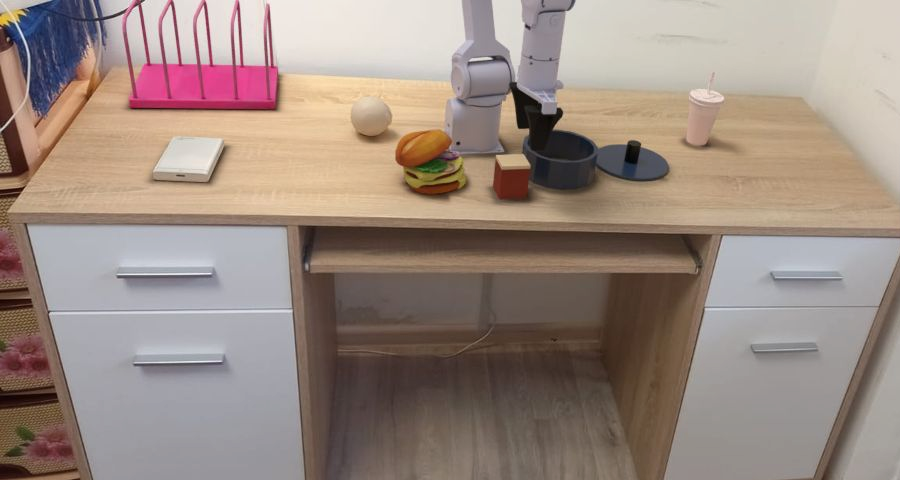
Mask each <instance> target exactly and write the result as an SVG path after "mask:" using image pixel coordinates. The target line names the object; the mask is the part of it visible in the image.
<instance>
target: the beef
mask: <svg viewBox="0 0 900 480" xmlns="http://www.w3.org/2000/svg"><path fill="white" fill-rule="evenodd" d="M530 166H531V165H530V164H529V162H528V160H527V159H526V157H525V155H524V154H522V153H515V154H514V153H513V154H512V153H511V154H496V155H495V160H494V171H493V181H492V182H493V183H492V189H493V191H494V192H495V194H496V196H497V198H498V199H499V200H510V199H527V198H528V191H529V190H528V189H529V182H530V180H529V174H530Z"/></svg>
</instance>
